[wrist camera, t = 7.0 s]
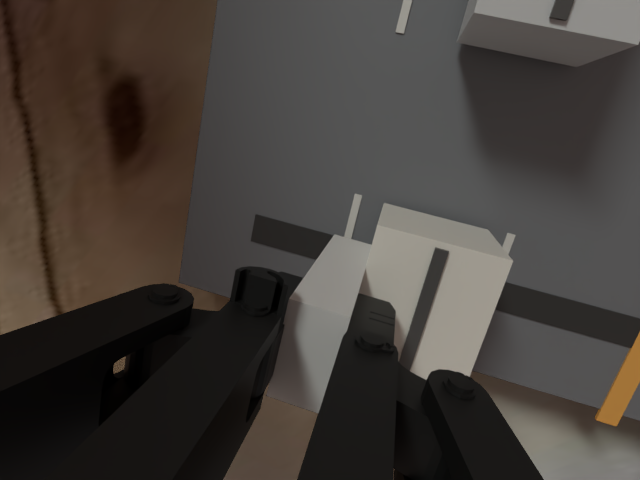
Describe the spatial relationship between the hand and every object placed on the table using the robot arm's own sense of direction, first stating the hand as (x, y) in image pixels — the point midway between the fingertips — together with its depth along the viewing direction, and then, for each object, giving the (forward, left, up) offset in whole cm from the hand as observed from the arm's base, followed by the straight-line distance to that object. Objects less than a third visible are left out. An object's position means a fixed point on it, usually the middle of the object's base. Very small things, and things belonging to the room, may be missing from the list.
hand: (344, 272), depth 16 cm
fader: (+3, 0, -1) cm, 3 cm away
